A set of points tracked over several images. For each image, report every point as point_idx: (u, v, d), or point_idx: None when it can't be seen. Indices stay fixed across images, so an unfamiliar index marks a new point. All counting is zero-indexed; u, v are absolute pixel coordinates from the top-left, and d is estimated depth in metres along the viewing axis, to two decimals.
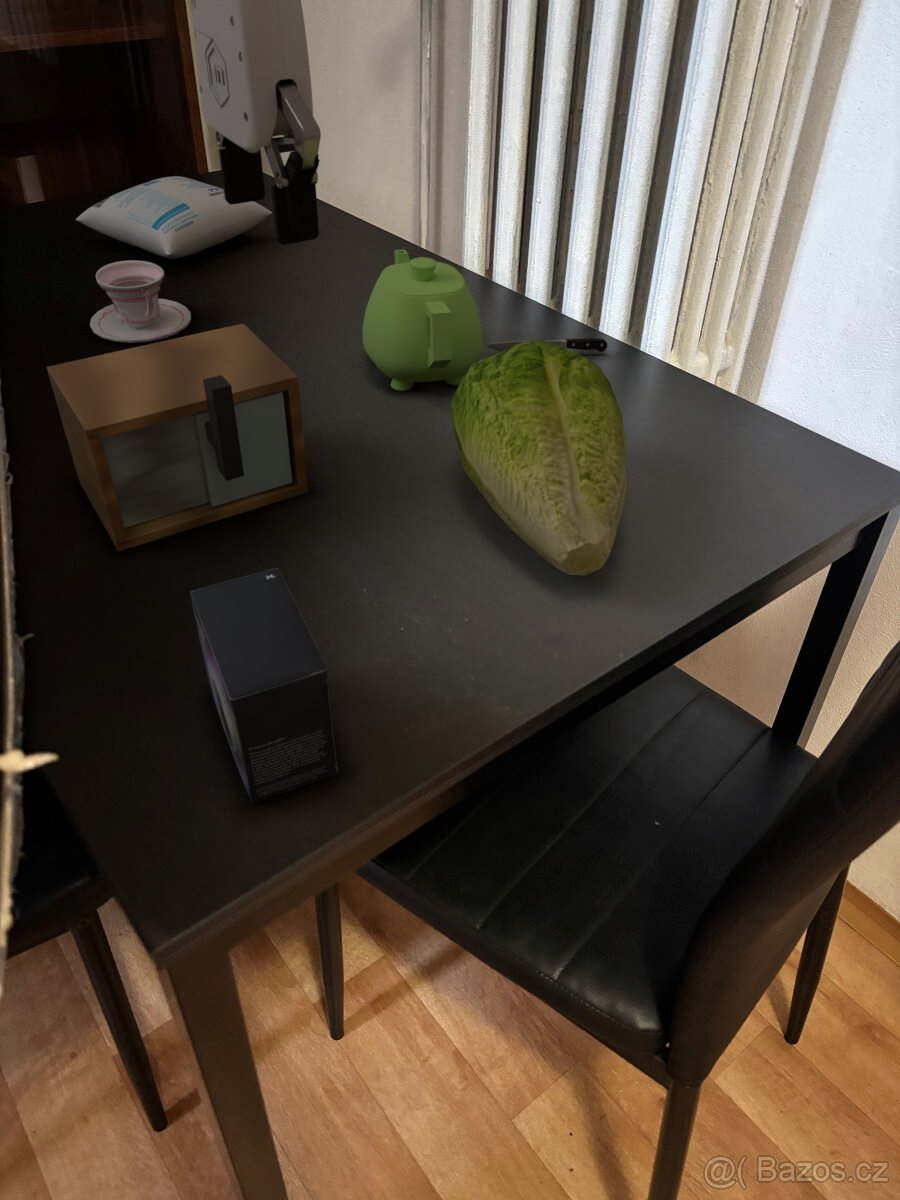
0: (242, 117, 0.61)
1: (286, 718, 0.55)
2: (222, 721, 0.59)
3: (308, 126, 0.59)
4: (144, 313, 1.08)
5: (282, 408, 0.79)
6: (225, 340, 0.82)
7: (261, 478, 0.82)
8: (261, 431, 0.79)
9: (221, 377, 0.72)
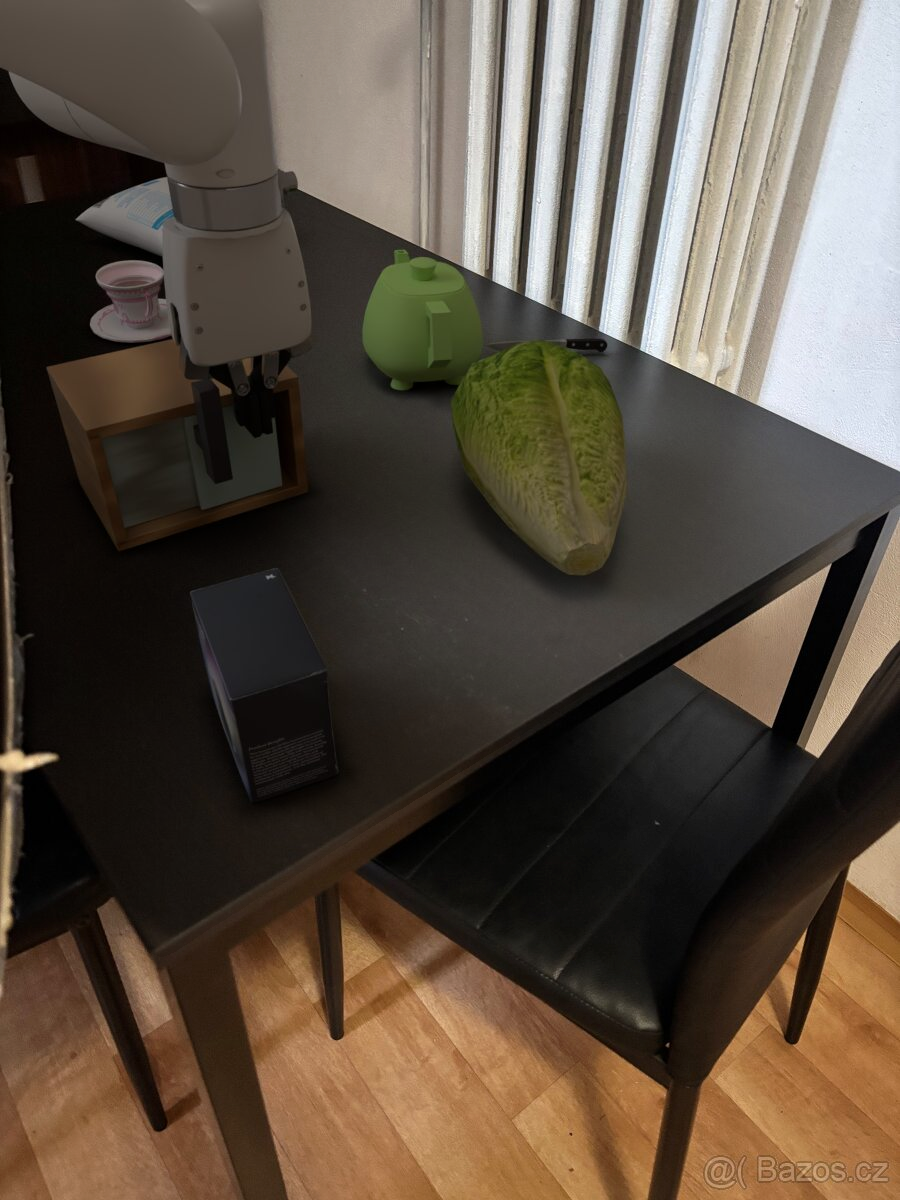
0: None
1: (286, 718, 0.55)
2: (222, 721, 0.59)
3: (181, 369, 0.69)
4: (144, 313, 1.08)
5: None
6: None
7: (251, 481, 0.82)
8: (250, 434, 0.79)
9: (209, 380, 0.72)
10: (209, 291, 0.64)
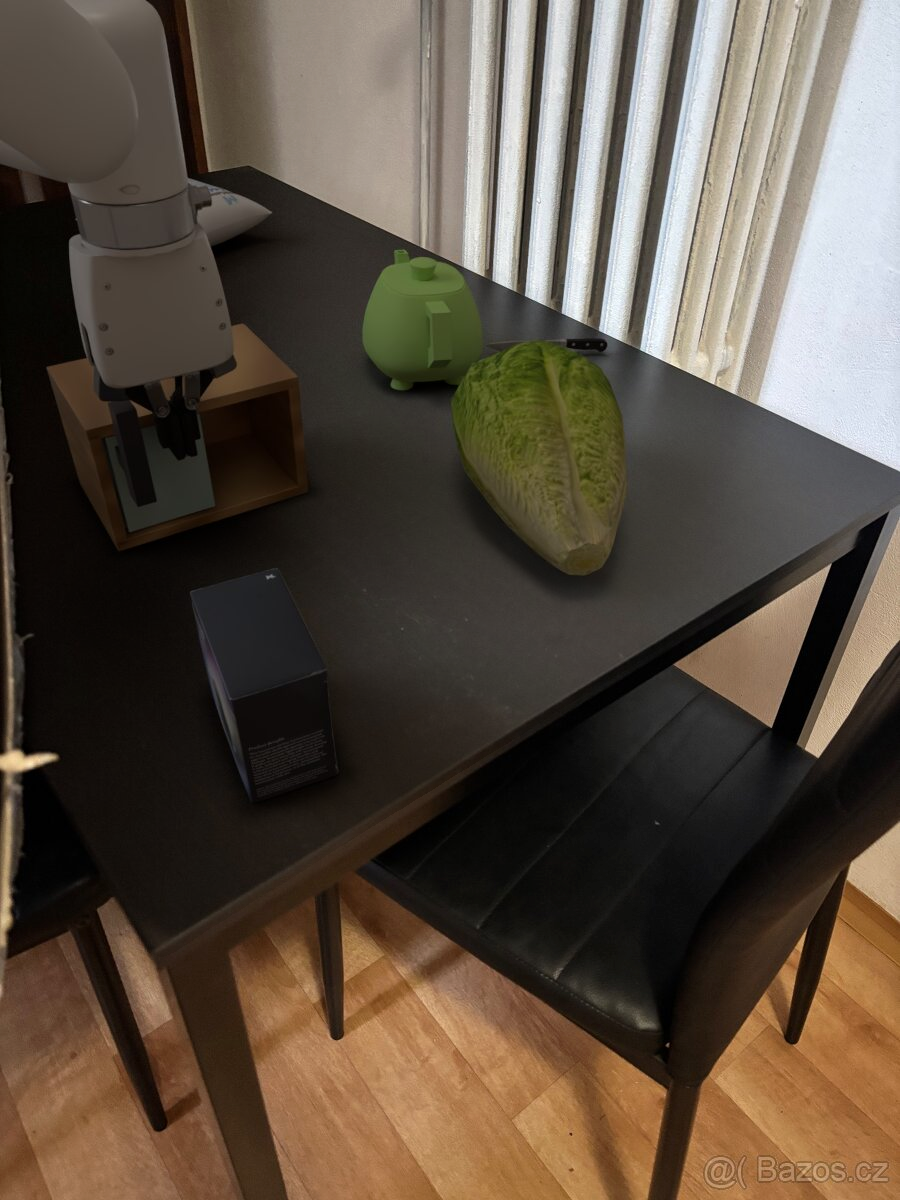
0: None
1: (286, 717, 0.55)
2: (222, 721, 0.59)
3: (95, 390, 0.66)
4: None
5: None
6: None
7: (181, 502, 0.79)
8: None
9: (127, 400, 0.69)
10: (118, 311, 0.62)
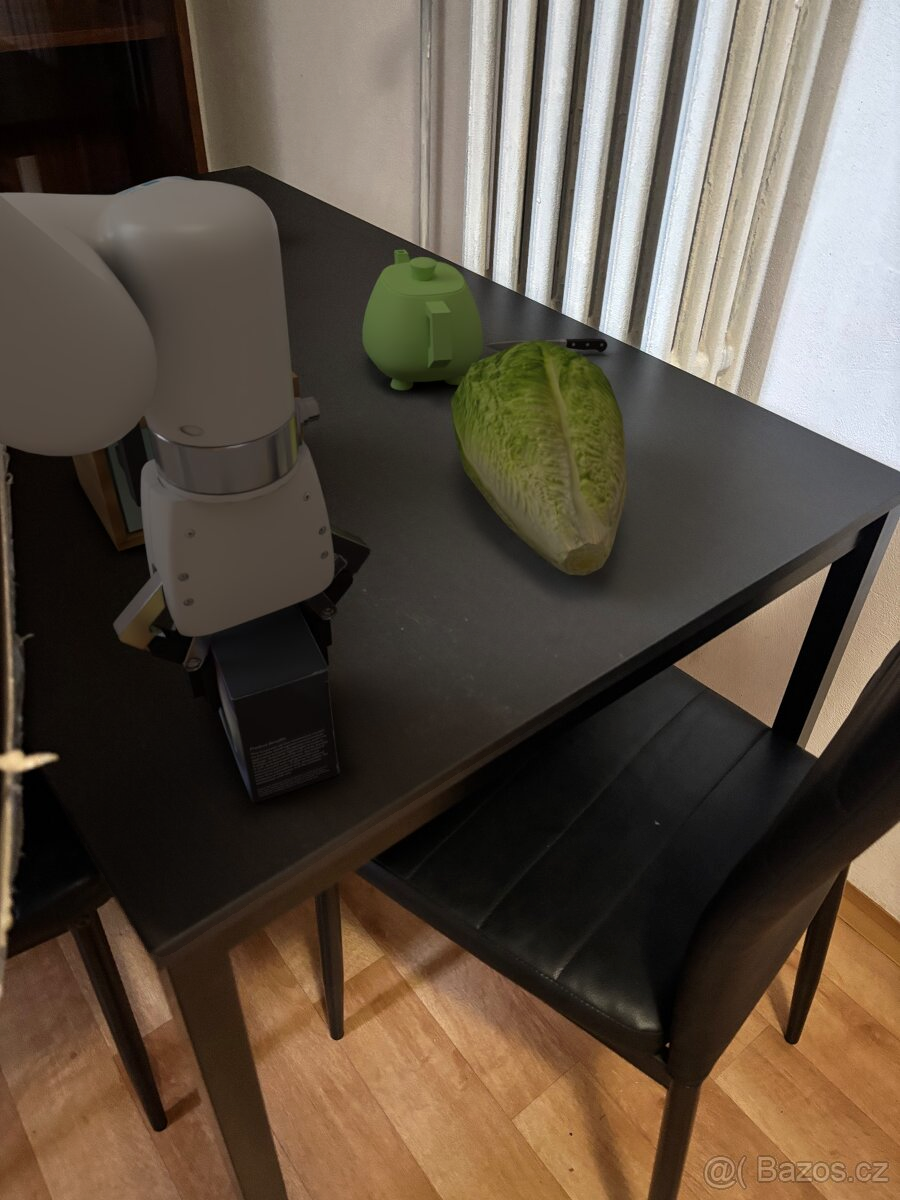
0: None
1: (287, 717, 0.55)
2: (223, 721, 0.59)
3: (117, 625, 0.51)
4: None
5: None
6: None
7: None
8: None
9: None
10: (202, 558, 0.48)
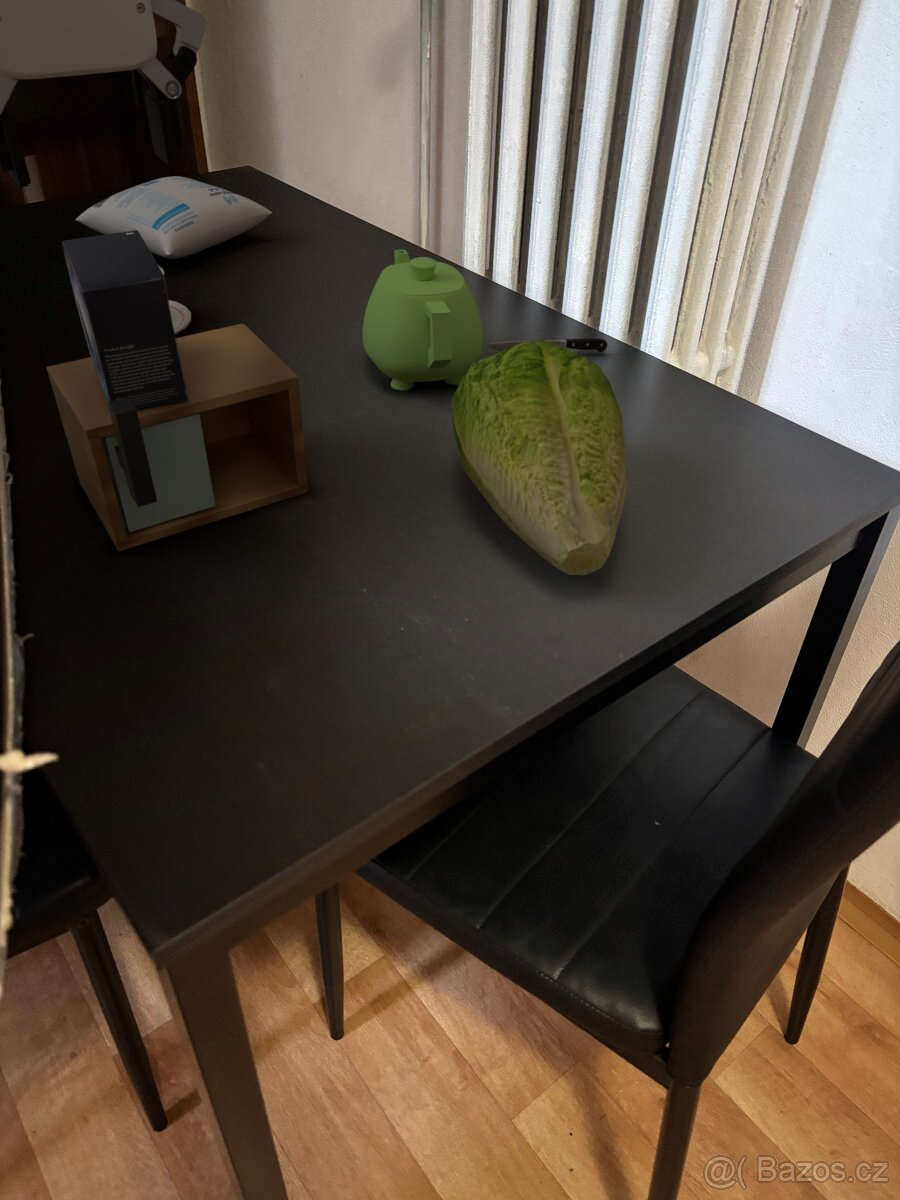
0: None
1: (133, 322, 0.68)
2: (89, 348, 0.72)
3: None
4: None
5: (199, 430, 0.76)
6: (225, 340, 0.82)
7: (181, 502, 0.79)
8: (178, 454, 0.76)
9: (127, 400, 0.69)
10: None
